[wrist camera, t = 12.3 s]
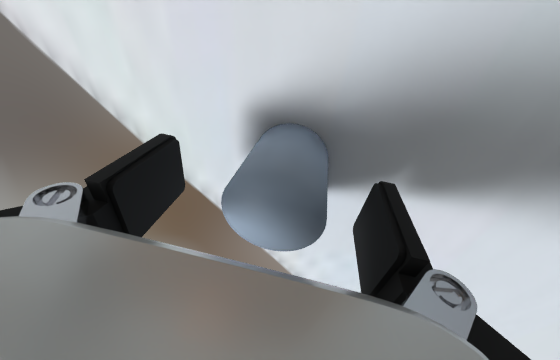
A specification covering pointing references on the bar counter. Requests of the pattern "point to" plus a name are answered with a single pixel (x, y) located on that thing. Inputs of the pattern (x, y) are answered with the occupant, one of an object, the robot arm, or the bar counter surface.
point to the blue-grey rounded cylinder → (280, 190)
